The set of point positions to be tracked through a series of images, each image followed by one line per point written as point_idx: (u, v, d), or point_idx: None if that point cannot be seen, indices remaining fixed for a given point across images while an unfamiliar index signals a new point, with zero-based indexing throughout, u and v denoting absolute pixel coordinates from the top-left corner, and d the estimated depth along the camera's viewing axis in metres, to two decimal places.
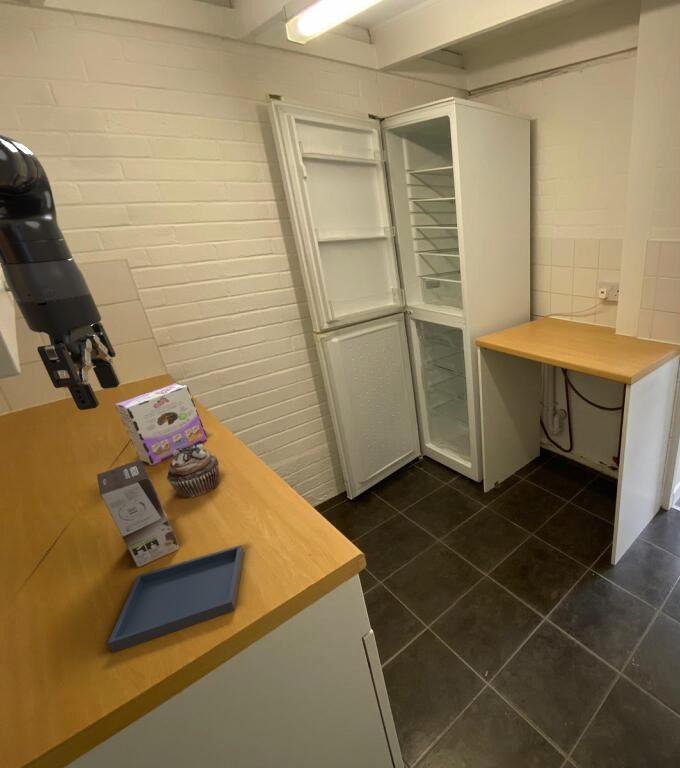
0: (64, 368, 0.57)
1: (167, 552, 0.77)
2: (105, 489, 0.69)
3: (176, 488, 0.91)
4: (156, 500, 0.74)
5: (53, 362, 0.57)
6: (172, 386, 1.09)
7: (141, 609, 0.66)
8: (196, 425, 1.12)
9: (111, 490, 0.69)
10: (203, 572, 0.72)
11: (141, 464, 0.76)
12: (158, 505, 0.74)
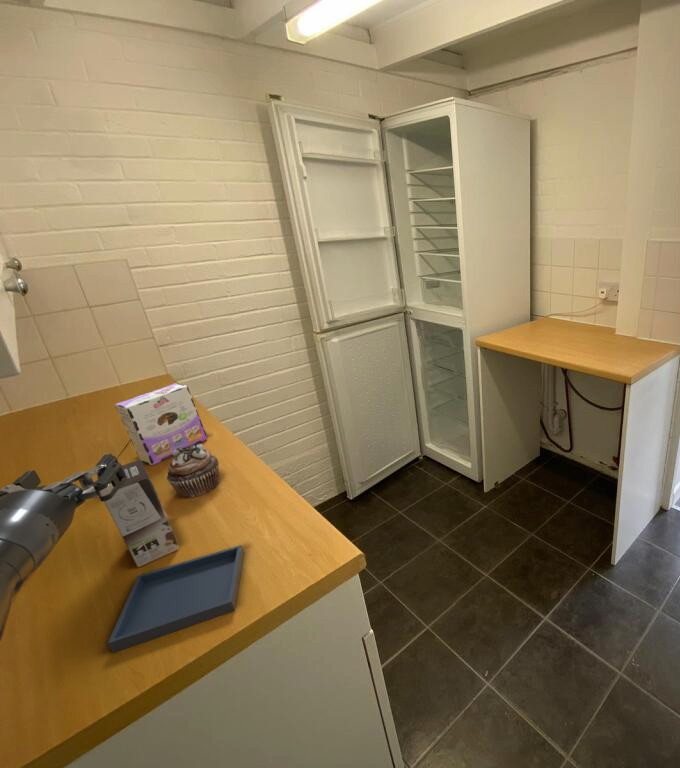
0: None
1: (167, 552, 0.77)
2: None
3: (176, 488, 0.91)
4: (156, 500, 0.74)
5: None
6: (172, 386, 1.09)
7: (141, 609, 0.66)
8: (196, 425, 1.12)
9: None
10: (203, 572, 0.72)
11: (141, 464, 0.76)
12: (158, 505, 0.74)
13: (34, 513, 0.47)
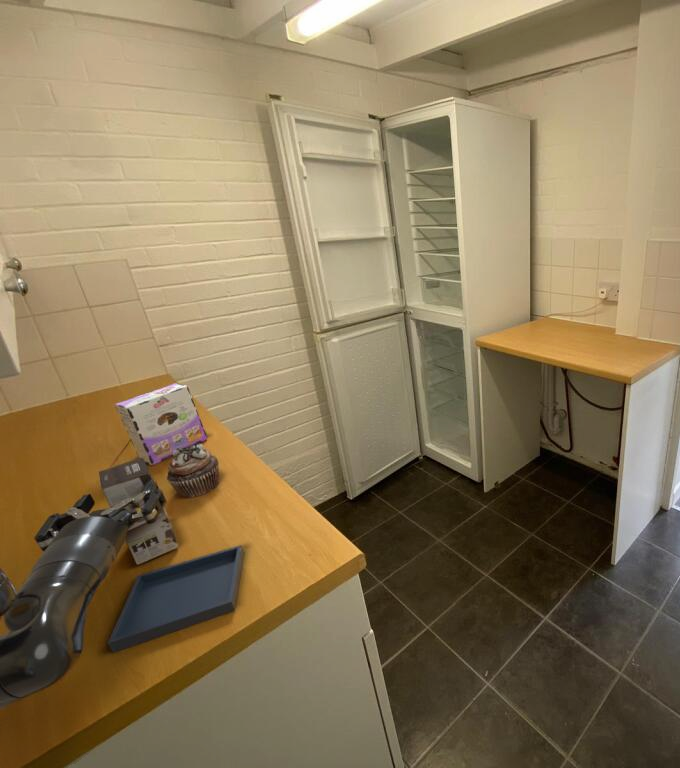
0: None
1: (166, 550, 0.77)
2: (106, 484, 0.70)
3: (176, 488, 0.91)
4: None
5: None
6: (172, 386, 1.09)
7: (141, 609, 0.66)
8: (196, 425, 1.12)
9: (112, 485, 0.69)
10: (203, 572, 0.72)
11: (143, 461, 0.77)
12: None
13: (98, 537, 0.58)
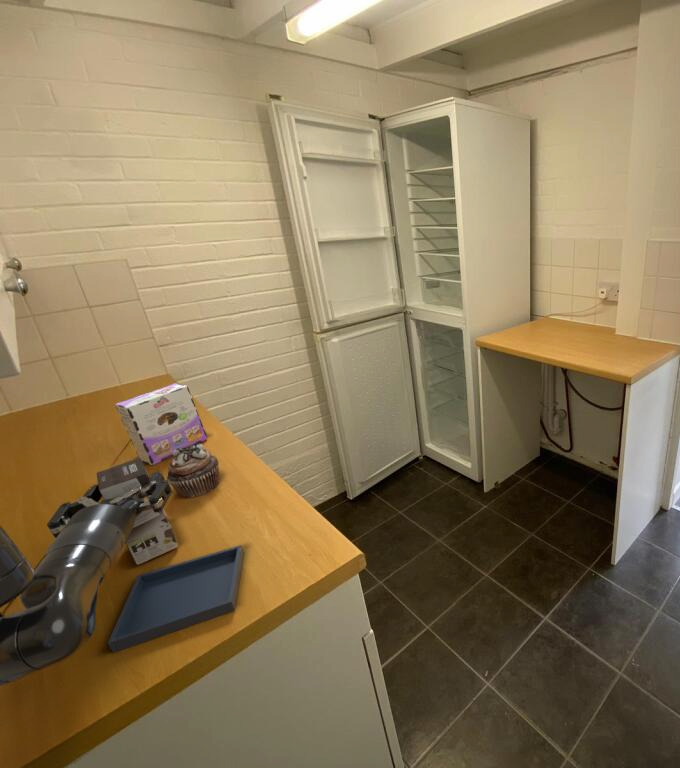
0: None
1: (166, 550, 0.77)
2: (103, 485, 0.70)
3: (176, 488, 0.91)
4: None
5: None
6: (172, 386, 1.09)
7: (141, 609, 0.66)
8: (196, 425, 1.12)
9: (109, 486, 0.69)
10: (203, 572, 0.72)
11: (140, 462, 0.76)
12: None
13: (108, 523, 0.61)
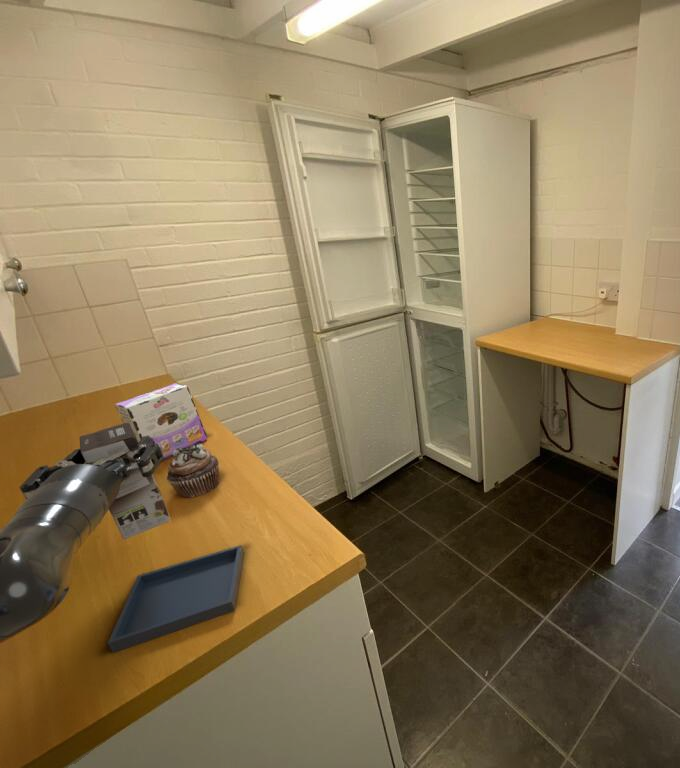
0: None
1: (157, 524, 0.69)
2: (86, 447, 0.62)
3: (176, 488, 0.91)
4: None
5: None
6: (172, 386, 1.09)
7: (141, 609, 0.66)
8: (196, 425, 1.12)
9: (93, 448, 0.62)
10: (203, 572, 0.72)
11: (128, 426, 0.69)
12: None
13: (89, 484, 0.53)
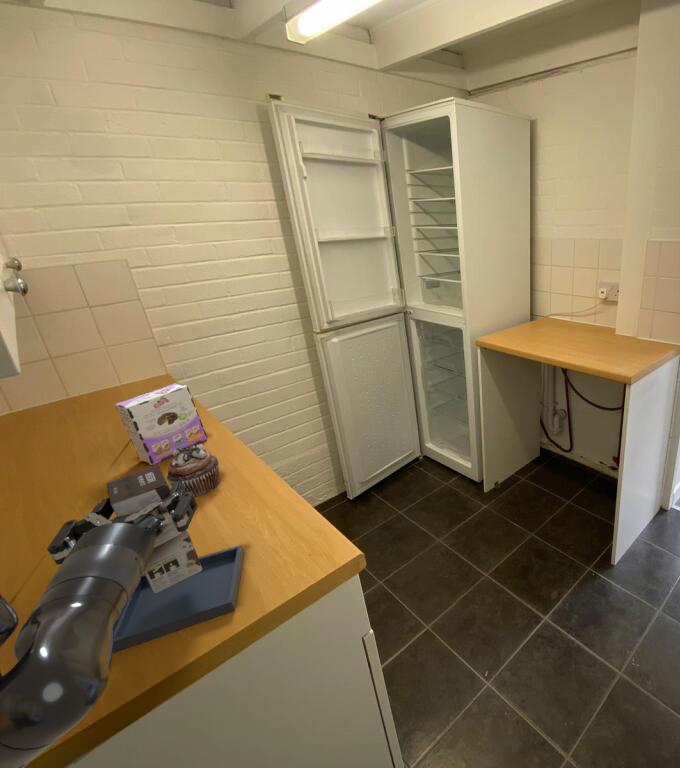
0: None
1: (189, 575, 0.64)
2: (116, 498, 0.58)
3: None
4: None
5: None
6: (172, 386, 1.09)
7: (141, 609, 0.66)
8: (196, 425, 1.12)
9: (123, 499, 0.57)
10: (203, 572, 0.72)
11: (158, 470, 0.64)
12: None
13: (124, 548, 0.49)
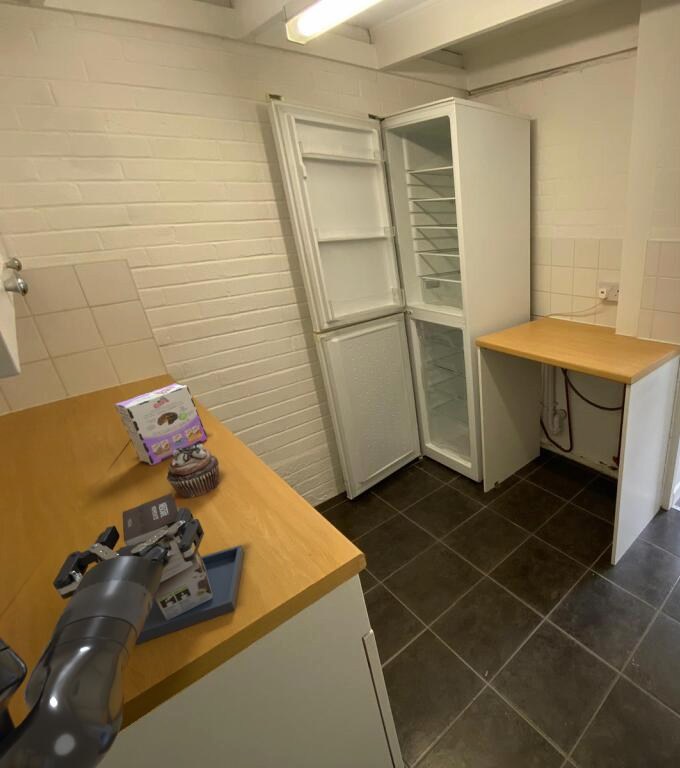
0: None
1: (199, 602, 0.66)
2: (129, 533, 0.59)
3: (176, 488, 0.91)
4: None
5: None
6: (172, 386, 1.09)
7: None
8: (196, 425, 1.12)
9: (136, 536, 0.58)
10: None
11: (171, 500, 0.65)
12: None
13: (132, 583, 0.48)
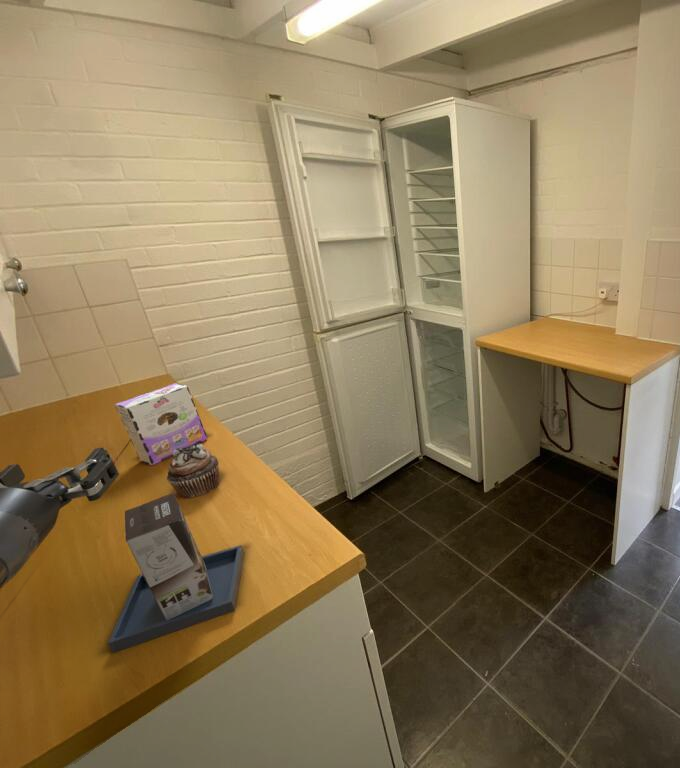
0: None
1: (200, 603, 0.66)
2: (131, 533, 0.59)
3: (176, 488, 0.91)
4: (189, 545, 0.63)
5: None
6: (172, 386, 1.09)
7: (141, 609, 0.66)
8: (196, 425, 1.12)
9: (138, 535, 0.58)
10: None
11: (174, 500, 0.65)
12: (191, 550, 0.63)
13: (10, 515, 0.42)
